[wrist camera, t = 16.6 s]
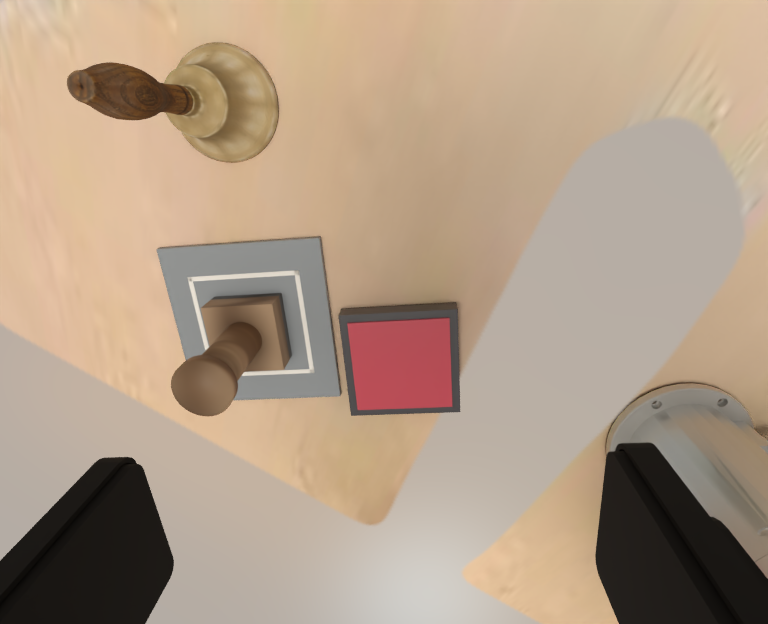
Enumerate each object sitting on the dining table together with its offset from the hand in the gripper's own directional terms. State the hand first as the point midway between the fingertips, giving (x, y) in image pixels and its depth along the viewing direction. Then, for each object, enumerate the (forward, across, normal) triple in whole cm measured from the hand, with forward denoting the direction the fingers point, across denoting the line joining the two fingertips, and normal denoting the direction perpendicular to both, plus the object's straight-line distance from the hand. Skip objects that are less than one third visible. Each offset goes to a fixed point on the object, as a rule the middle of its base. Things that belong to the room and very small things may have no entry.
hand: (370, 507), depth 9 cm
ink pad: (+30, +1, +12) cm, 33 cm away
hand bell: (+31, +13, -10) cm, 35 cm away
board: (+30, +14, +8) cm, 34 cm away
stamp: (+30, +14, +8) cm, 34 cm away
